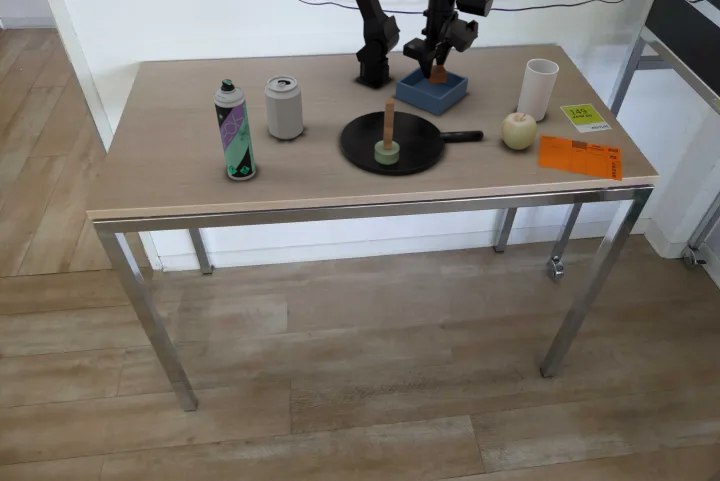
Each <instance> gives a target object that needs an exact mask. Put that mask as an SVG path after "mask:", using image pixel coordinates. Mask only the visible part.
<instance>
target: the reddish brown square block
mask: <svg viewBox="0 0 720 481" xmlns="http://www.w3.org/2000/svg"><path fill="white" fill-rule="evenodd" d="M447 71H448V70H446V67H445V65H444V66H443V65H436V64H435V65H434V64H433V66H432V70H431V73H430V77H429V79H427V80H428V82H429V83H430V84H436V83H446V81H447V74H448V73H447Z"/></svg>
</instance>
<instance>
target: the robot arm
mask: <svg viewBox="0 0 720 481" xmlns="http://www.w3.org/2000/svg"><path fill="white" fill-rule="evenodd" d="M355 2H356V5H357V8H358V10H359V13H360V15H361V19H362V22H363V25H362V36H363V41H364V45H363V46H362V47H361V48H360V49H359V50H358V51H356V53H355V56H356V59H357V62H358V63H359V76H357V77H356V78H355V81H356V82H357V83H361V84H363V85H365V86H367V87H370V88H372V89H379V88H381V87H382V86H383V85H384V84H386V83H388V82H389V81H391V80H392V77H391V75H390V64H389V58H390V57H387V55H388V54H389V53H391V51H392V50H393V49H395V47H396V46H397V45H398V44H399V41H400V39H401V38H400V32H401V29H400V28H399V26H398V24H397V19H396V16H395V15H394V14H393V15H390V16H389V15H387V14H386V12H384V10H383V7H382V6H381V1H380V0H355ZM493 3H494V0H427V8H426V9H424V10H423V11H422V16H423V17H425V18H426V19H425V27H424V28H423V29H421V31H420V34H421V36H425V38H424V39H422V38H419V37H414V38H412V39H411V40H409V41H407V42H406V43H405V44H403V47H402V55H403V56H404V57H407V58H410V59H412V60H415V61H417V63H418V65H419V67H420V68H421V70H422V73H423V75H424V77H425V78H426V79H429V77H430V73H431V70H432V66H433V65H434V61H435V65H443V66H444V67H445V63H446V61H447V59H448V57H449V54H450V52H451V51H452V49H453V48H454V49H455V51H456V52H458V53H464V52H465V51H467V50H468V49H470V48H471V46H472V45H473V43H474V42H475V40H477V39H478V38H479V35H478V34H479V22H478V21H477V20H475V19H472V20H471V21H467V20H464V19H461V18H459V15H460V14H459V12H460V13H464V14H469V15H473V16H477V17H478V16H479V17H481V18H487V17H488V16H489V14H490V12H491V9H492V7H493ZM455 8H456V10H455Z"/></svg>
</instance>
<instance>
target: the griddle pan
mask: <svg viewBox="0 0 720 481" xmlns="http://www.w3.org/2000/svg"><path fill="white" fill-rule="evenodd" d="M384 116H385V110H382V111H379V110H378V111H374V112H373V111H372V112H369V113H366V114H361V115H360V116H357V117H356V118H354V119H353V120H351V121H349V122H348V123H347V124H346V125H345V126H344V128H343V130H342V131H341V135H340V148H341V151H342V153H343V155H344V156H345V158H346V159H347V160H348V161H349V162H351V163H352V164H353V165H355V166H356V167H358V168H360V169H362V170H364V171H367V172H370V173H373V174H378V175H384V176H406V175H407V176H409V175H413V174H417V173H420V172H423V171H425V170H428V169H429V168H431V167H432V166H434V165H435V164H436V163H437V162H439V160H441V157H442V156H443V153H444V148H445V142H446V143H447V142H465V141H480V140H482V139H483V138H484V136H485V133H484V131H482V130H479V129H478V130H477V129H476V130H460V131H459V130H457V131H440V129H439V127H437V126H436V125H435V124H434V123H432V122H431V121H430V120H428V119H426V118H424V117H422V116H420V115H416V114H413V113H411V112H406V111H398V110H394V121H393V136H392V141H394V142H396V143H397V144H398V145H399V147H400V150H399V159H398V161H397V162H395V163H393V164H388V165H386V164H381V163H379V162H377V161H376V160H375V157H374V154H375V145H376V144H377V143H378V142H380V141H383V135H384Z"/></svg>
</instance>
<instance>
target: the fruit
mask: <svg viewBox="0 0 720 481" xmlns="http://www.w3.org/2000/svg"><path fill="white" fill-rule="evenodd" d="M537 132H538V125H537V121H535V119H534V118H533V117H532V116H530V115H528V114H526V113H525V114H524V113H517V112H513V113H510V114H508V115H507V116H506V117H505V118H504V120H503V121H502V123H501V127H500V134H501V139H502V140H503V142H504V143H505V145H506V146H507V147H509V148H510V149H513V150H519V151H520V150H524V149H526V148H528V147H530V146H531V144H532V143H533V142H534V141H535V138H536V135H537Z"/></svg>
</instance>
